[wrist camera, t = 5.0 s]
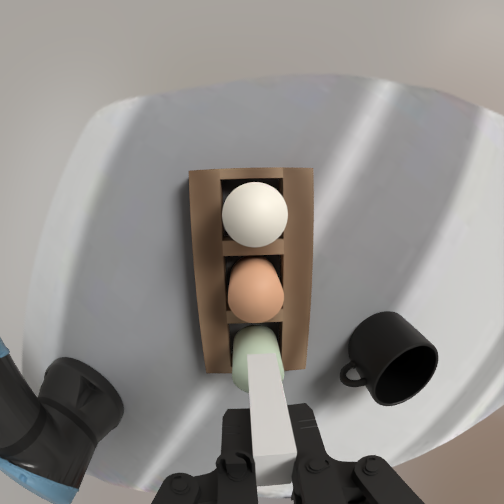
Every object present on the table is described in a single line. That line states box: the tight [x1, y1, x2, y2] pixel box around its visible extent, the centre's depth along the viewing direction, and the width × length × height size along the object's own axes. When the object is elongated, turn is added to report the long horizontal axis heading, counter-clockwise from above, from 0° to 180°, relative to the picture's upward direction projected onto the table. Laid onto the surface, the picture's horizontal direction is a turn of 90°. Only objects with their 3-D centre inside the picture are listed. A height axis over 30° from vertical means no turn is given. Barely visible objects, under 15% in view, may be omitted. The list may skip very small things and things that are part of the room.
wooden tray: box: [189, 168, 314, 373], centre depth 29 cm, size 12×23×3 cm, turn 1°
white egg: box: [222, 182, 288, 247], centre depth 23 cm, size 5×5×6 cm
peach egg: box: [228, 255, 284, 323], centre depth 27 cm, size 5×5×6 cm
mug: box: [340, 311, 438, 406], centre depth 29 cm, size 9×12×9 cm
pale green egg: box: [232, 325, 284, 393], centre depth 27 cm, size 5×5×6 cm
